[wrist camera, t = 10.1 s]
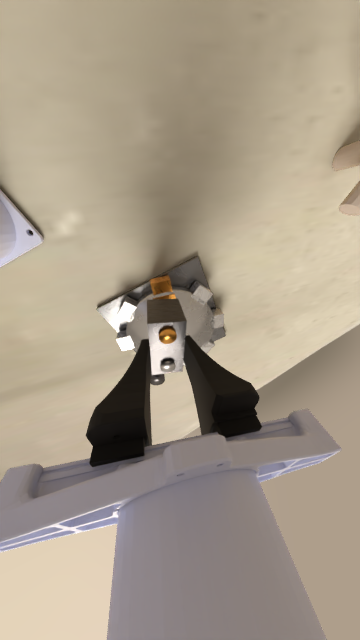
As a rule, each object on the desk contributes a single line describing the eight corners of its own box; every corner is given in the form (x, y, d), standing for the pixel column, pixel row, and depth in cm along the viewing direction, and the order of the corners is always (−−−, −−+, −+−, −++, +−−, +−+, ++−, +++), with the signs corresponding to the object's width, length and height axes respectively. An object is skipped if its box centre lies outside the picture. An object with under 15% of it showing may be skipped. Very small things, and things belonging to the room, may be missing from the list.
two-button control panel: (146, 299, 15) (147, 326, 11) (177, 298, 15) (187, 323, 12) (150, 346, 18) (152, 377, 14) (176, 343, 18) (183, 373, 15)
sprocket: (99, 342, 22) (85, 380, 17) (152, 250, 16) (155, 263, 11) (181, 369, 28) (189, 402, 23) (238, 309, 23) (264, 335, 18)
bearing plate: (97, 307, 20) (96, 309, 19) (196, 255, 18) (198, 256, 18) (152, 367, 27) (152, 369, 27) (224, 334, 26) (226, 335, 26)
